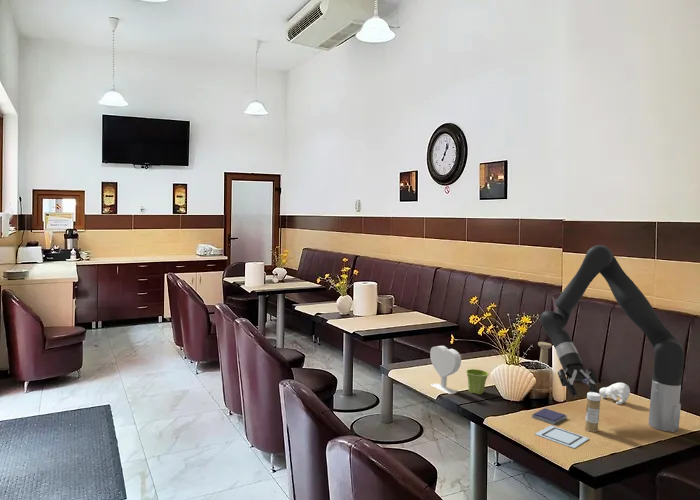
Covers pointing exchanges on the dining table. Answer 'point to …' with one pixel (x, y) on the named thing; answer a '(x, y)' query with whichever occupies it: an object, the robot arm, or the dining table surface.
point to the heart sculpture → (445, 365)
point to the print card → (562, 436)
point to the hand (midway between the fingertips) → (585, 395)
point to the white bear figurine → (616, 392)
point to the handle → (544, 351)
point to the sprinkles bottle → (592, 411)
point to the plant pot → (476, 380)
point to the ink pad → (549, 416)
